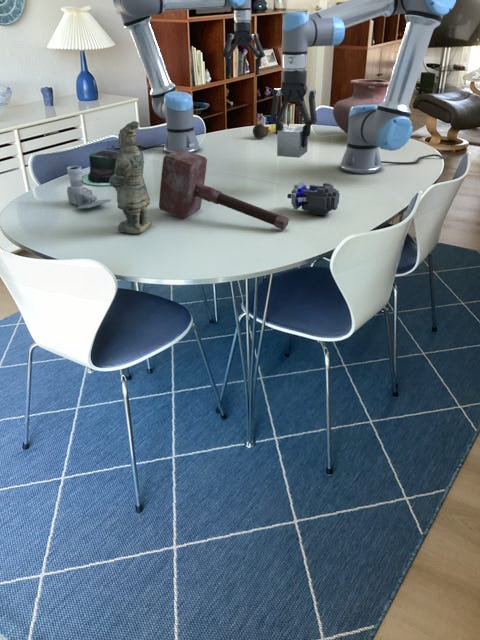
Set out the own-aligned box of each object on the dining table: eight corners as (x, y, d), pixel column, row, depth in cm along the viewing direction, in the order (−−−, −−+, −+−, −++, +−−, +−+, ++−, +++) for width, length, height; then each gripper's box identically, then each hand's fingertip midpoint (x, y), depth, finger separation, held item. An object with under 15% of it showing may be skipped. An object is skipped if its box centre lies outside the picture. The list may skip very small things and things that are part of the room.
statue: (131, 220, 168) (117, 116, 152) (158, 224, 164) (147, 118, 149) (109, 233, 159) (93, 124, 144) (138, 237, 156) (124, 126, 140)
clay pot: (396, 132, 265) (403, 75, 252) (401, 147, 239) (409, 84, 227) (332, 131, 270) (336, 75, 257) (330, 145, 244) (333, 84, 232)
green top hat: (70, 181, 201) (92, 168, 218) (116, 207, 203) (134, 192, 220) (83, 145, 193) (105, 134, 211) (131, 172, 195) (148, 159, 212)
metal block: (285, 150, 187) (286, 125, 183) (307, 151, 184) (308, 126, 180) (277, 156, 180) (277, 130, 176) (299, 157, 178) (300, 132, 174)
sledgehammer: (299, 190, 156) (179, 147, 167) (285, 200, 148) (161, 154, 160) (286, 244, 166) (174, 200, 177) (272, 256, 158) (156, 209, 170)
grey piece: (79, 162, 182) (107, 171, 173) (85, 197, 188) (112, 207, 179) (56, 168, 176) (83, 177, 167) (62, 204, 182) (89, 214, 173)
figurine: (296, 120, 270) (269, 123, 251) (294, 136, 273) (268, 140, 254) (273, 118, 276) (245, 120, 257) (271, 134, 279) (244, 137, 260)
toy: (295, 178, 172) (342, 184, 166) (295, 205, 177) (340, 211, 171) (285, 186, 166) (333, 192, 160) (284, 213, 170) (331, 220, 164)
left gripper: (213, 22, 244) (215, 74, 255) (266, 21, 235) (265, 76, 246) (220, 21, 250) (222, 72, 260) (272, 20, 241) (272, 74, 251)
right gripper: (258, 70, 170) (259, 145, 182) (323, 71, 163) (319, 150, 175) (267, 67, 176) (267, 140, 188) (330, 68, 169) (326, 145, 180)
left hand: (243, 74), depth 253 cm, fingers open, 13 cm apart
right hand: (292, 145), depth 181 cm, fingers closed on metal block, 8 cm apart
